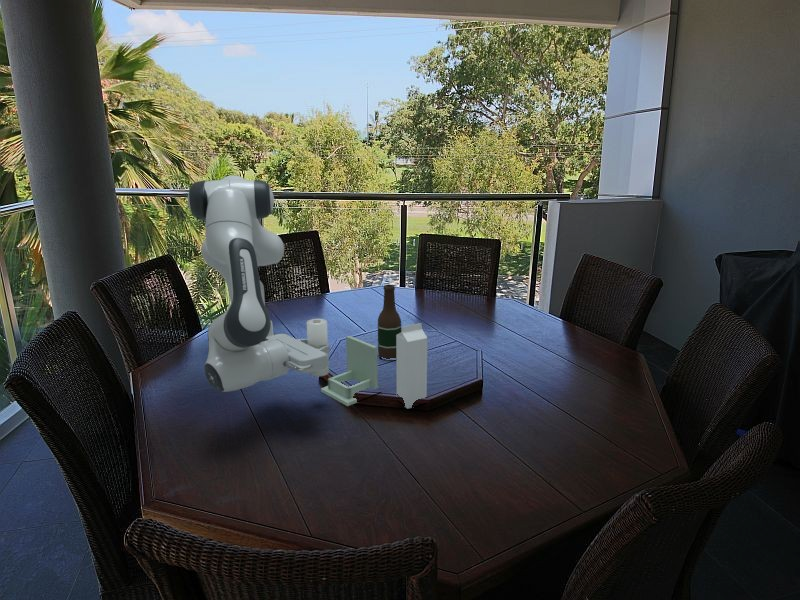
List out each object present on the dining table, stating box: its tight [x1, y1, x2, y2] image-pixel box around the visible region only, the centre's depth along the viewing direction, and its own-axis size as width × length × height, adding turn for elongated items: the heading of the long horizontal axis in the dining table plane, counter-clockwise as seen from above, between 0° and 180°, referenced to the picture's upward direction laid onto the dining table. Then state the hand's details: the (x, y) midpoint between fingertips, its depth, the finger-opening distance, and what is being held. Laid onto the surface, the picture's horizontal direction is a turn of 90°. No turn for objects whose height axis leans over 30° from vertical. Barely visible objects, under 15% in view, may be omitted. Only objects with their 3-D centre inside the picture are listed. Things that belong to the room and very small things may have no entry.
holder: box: [320, 335, 379, 407], centre depth 149 cm, size 12×12×14 cm
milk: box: [395, 322, 428, 410], centre depth 142 cm, size 6×6×22 cm
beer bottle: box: [377, 284, 402, 359], centre depth 172 cm, size 8×8×24 cm
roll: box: [306, 318, 330, 377], centre depth 139 cm, size 5×5×14 cm
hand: (320, 344), depth 140 cm, fingers closed on roll, 5 cm apart
